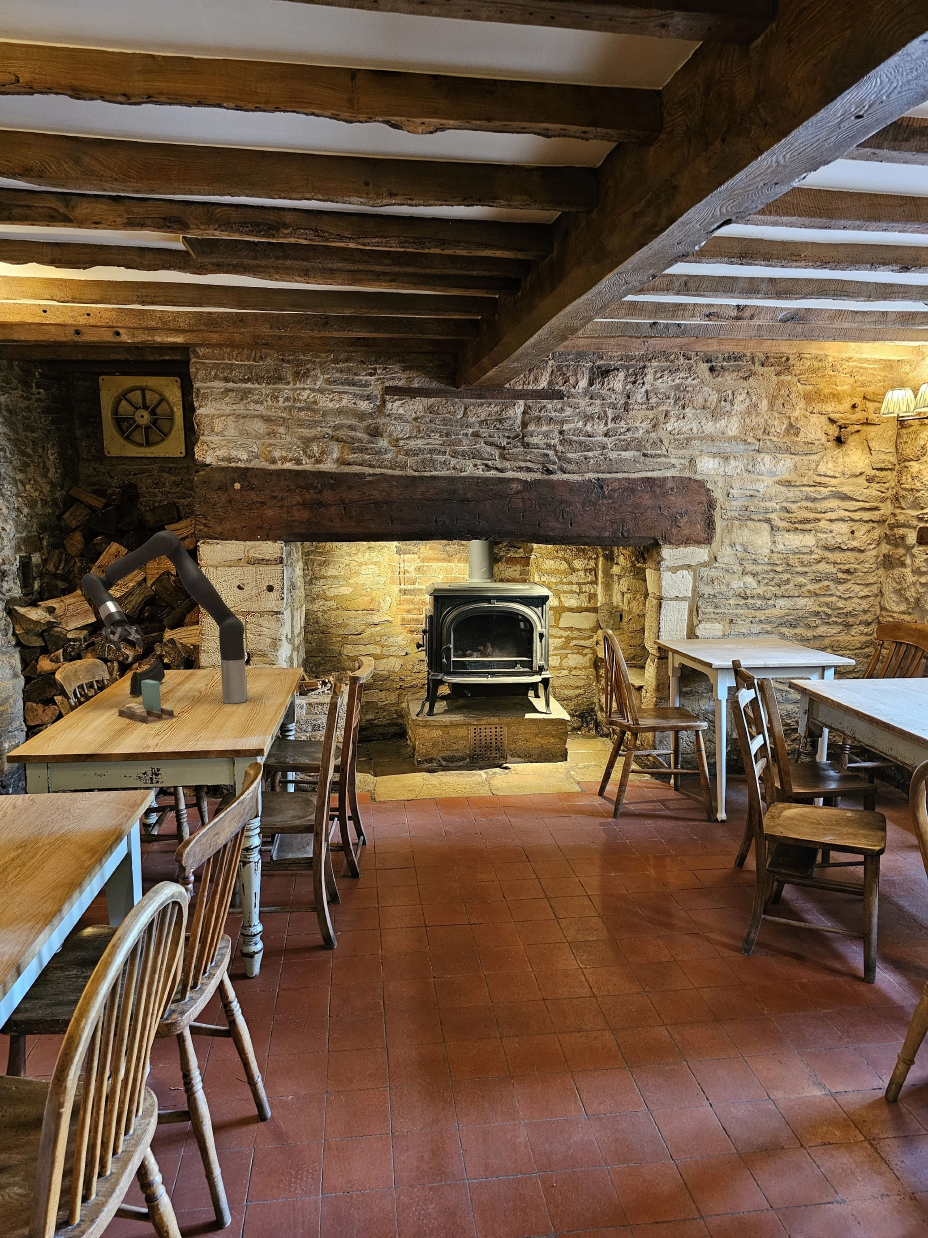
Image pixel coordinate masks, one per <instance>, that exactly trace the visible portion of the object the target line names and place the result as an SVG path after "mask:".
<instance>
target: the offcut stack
mask: <svg viewBox="0 0 928 1238" xmlns="http://www.w3.org/2000/svg"><path fill="white" fill-rule="evenodd" d="M125 710H126V711H130V712H133V713H137V714H141V715H144V716H147V714H146V710H144V706H143V704H138V703H130V704H125Z"/></svg>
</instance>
